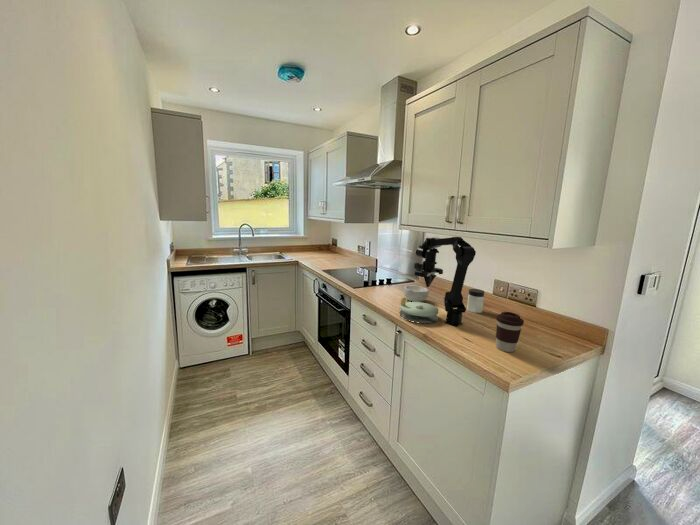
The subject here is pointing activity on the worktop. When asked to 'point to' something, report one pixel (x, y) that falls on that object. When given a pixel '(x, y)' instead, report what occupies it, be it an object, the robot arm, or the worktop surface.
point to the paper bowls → (415, 293)
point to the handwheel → (418, 308)
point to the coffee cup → (508, 331)
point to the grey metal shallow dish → (419, 318)
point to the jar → (475, 300)
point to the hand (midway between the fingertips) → (427, 286)
